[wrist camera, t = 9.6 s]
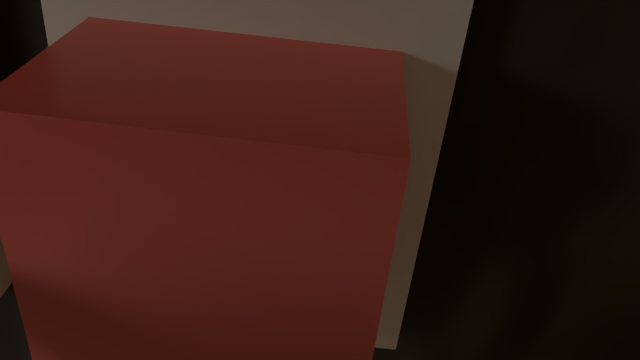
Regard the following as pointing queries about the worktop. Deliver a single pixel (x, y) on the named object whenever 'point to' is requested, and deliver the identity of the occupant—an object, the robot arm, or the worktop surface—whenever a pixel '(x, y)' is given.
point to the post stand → (4, 271)
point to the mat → (344, 29)
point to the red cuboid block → (201, 194)
